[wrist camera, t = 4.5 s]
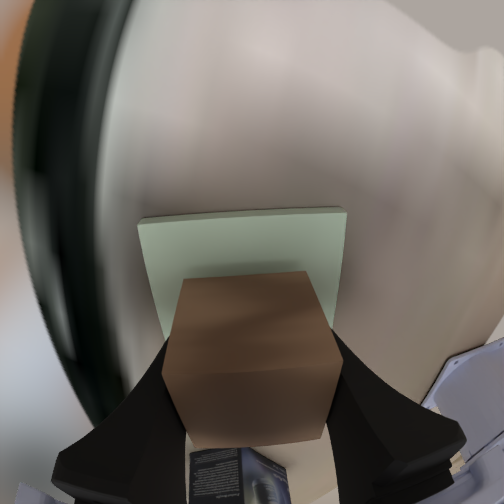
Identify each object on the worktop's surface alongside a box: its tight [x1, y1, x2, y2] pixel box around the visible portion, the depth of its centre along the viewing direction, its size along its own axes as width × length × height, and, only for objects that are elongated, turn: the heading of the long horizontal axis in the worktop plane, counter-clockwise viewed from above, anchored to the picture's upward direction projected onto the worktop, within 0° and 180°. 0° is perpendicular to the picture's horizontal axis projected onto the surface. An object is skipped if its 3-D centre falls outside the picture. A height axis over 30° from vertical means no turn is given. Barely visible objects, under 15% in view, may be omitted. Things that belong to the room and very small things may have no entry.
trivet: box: [137, 207, 347, 341], centre depth 14 cm, size 9×9×1 cm
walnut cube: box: [162, 271, 343, 448], centre depth 11 cm, size 5×5×5 cm
